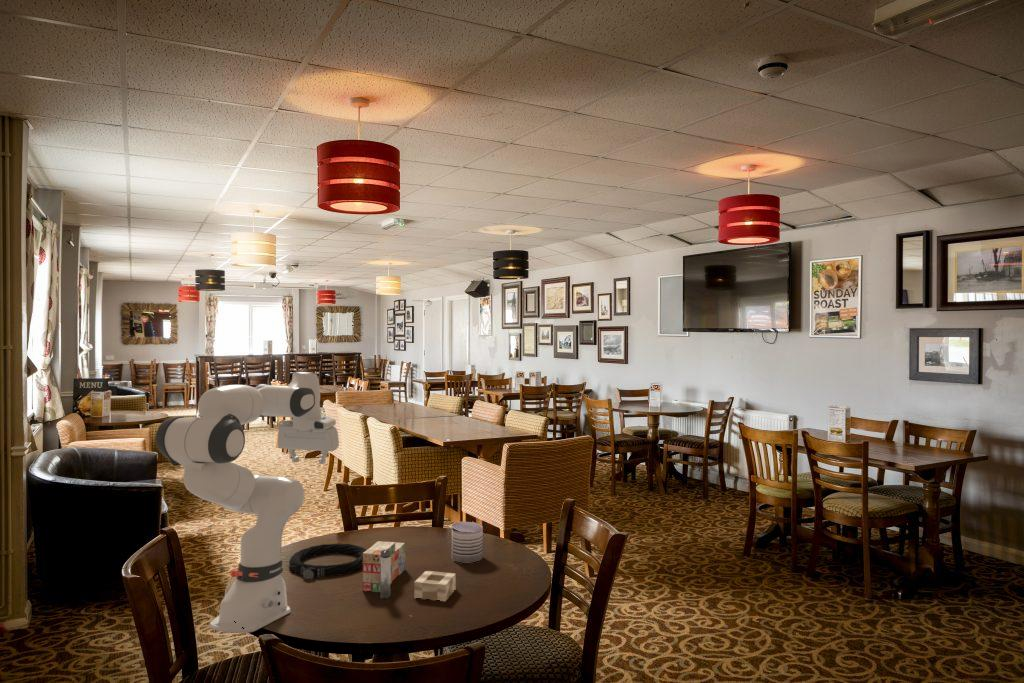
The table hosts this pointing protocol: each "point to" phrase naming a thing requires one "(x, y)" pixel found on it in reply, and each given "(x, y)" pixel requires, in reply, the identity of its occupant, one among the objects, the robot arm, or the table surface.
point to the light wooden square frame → (435, 585)
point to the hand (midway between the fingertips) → (308, 462)
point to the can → (467, 542)
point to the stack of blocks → (374, 564)
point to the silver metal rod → (385, 573)
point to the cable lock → (329, 570)
